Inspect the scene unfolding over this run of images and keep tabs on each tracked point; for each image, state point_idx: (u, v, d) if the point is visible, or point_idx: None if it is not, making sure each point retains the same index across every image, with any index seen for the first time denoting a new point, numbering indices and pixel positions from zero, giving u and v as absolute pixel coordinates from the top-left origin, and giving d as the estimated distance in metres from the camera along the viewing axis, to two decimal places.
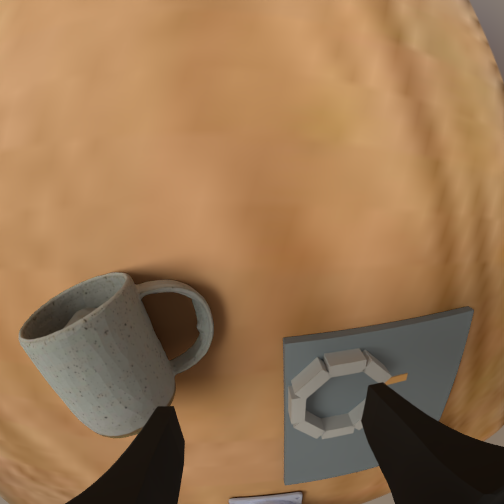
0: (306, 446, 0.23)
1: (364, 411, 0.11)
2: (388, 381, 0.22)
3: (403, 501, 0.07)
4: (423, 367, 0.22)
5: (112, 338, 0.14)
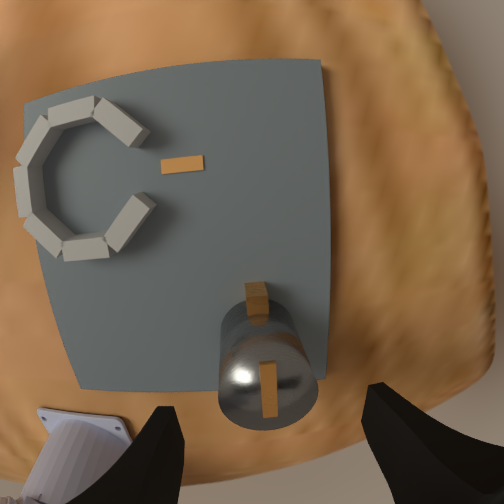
0: (73, 297, 0.16)
1: (364, 411, 0.11)
2: (166, 166, 0.14)
3: (403, 501, 0.07)
4: (236, 149, 0.14)
5: None
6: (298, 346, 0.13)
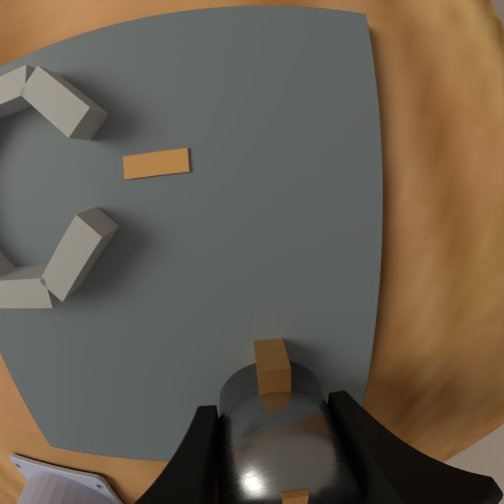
0: (24, 347, 0.10)
1: None
2: (131, 166, 0.09)
3: None
4: (242, 139, 0.09)
5: None
6: (336, 446, 0.07)
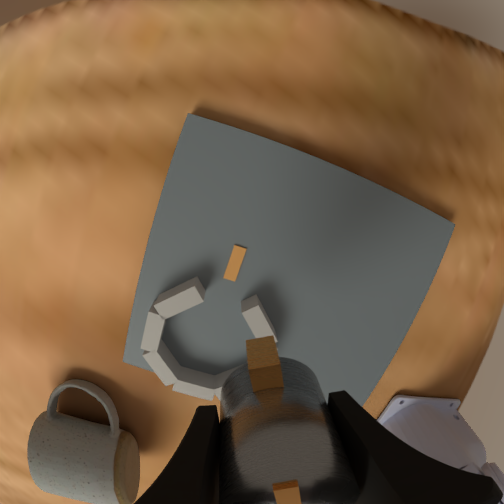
0: None
1: None
2: (230, 275, 0.18)
3: None
4: (241, 216, 0.17)
5: (43, 454, 0.15)
6: (329, 437, 0.08)
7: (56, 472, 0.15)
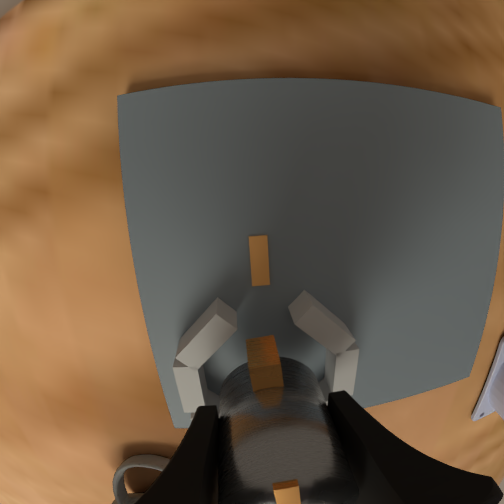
0: (385, 380, 0.15)
1: None
2: (260, 279, 0.13)
3: None
4: (242, 194, 0.12)
5: None
6: (329, 437, 0.08)
7: None
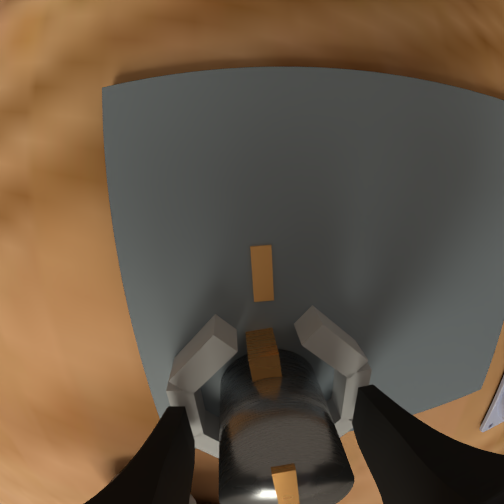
0: (396, 397, 0.13)
1: (354, 413, 0.11)
2: (263, 294, 0.11)
3: None
4: (243, 198, 0.10)
5: None
6: (325, 425, 0.08)
7: None
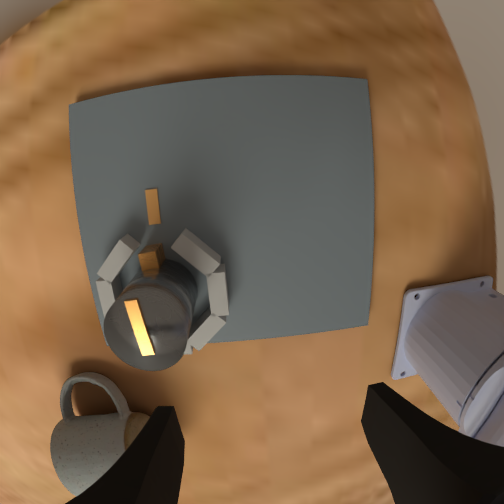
0: (270, 313, 0.20)
1: (364, 411, 0.11)
2: (154, 219, 0.18)
3: (403, 501, 0.07)
4: (140, 162, 0.17)
5: (63, 456, 0.16)
6: (172, 291, 0.15)
7: (78, 470, 0.16)
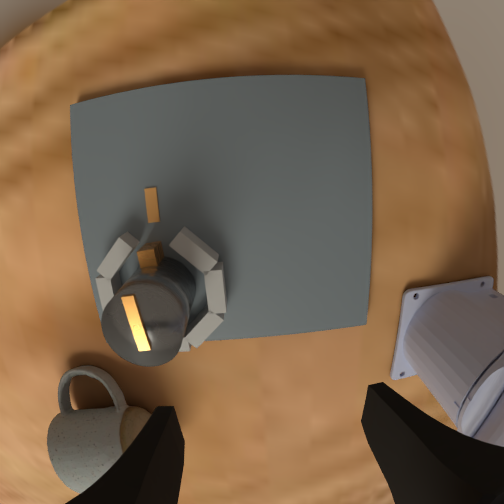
0: (268, 311, 0.20)
1: (364, 411, 0.11)
2: (153, 217, 0.18)
3: (403, 501, 0.07)
4: (140, 161, 0.17)
5: (59, 448, 0.17)
6: (169, 288, 0.15)
7: (74, 463, 0.16)
